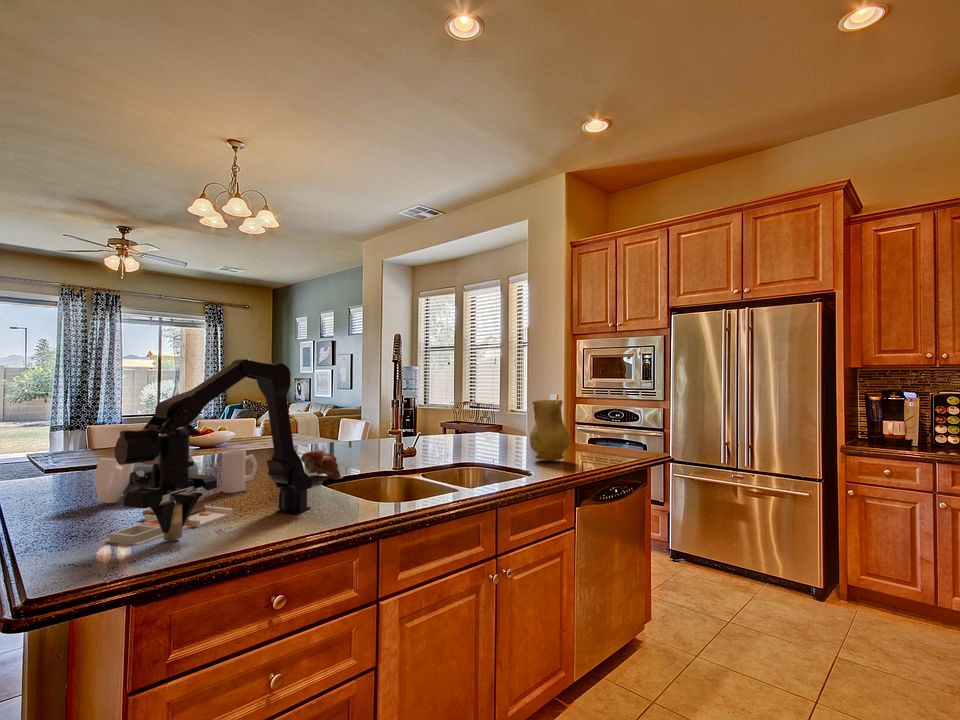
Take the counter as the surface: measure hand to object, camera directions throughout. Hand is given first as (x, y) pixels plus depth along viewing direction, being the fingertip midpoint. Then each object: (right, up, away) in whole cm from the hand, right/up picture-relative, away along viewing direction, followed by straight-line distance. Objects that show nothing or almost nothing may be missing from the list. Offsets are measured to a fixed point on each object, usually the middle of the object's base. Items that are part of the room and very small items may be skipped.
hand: (173, 530), depth 109 cm
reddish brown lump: (+10, -5, +67) cm, 68 cm away
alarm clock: (-29, -4, +42) cm, 51 cm away
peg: (0, -2, 0) cm, 2 cm away
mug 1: (-34, -2, +28) cm, 44 cm away
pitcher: (+97, -6, +110) cm, 146 cm away
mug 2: (-9, -4, +48) cm, 49 cm away
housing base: (-5, -3, +17) cm, 18 cm away
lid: (-11, -2, +19) cm, 22 cm away
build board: (-8, -3, +5) cm, 10 cm away
